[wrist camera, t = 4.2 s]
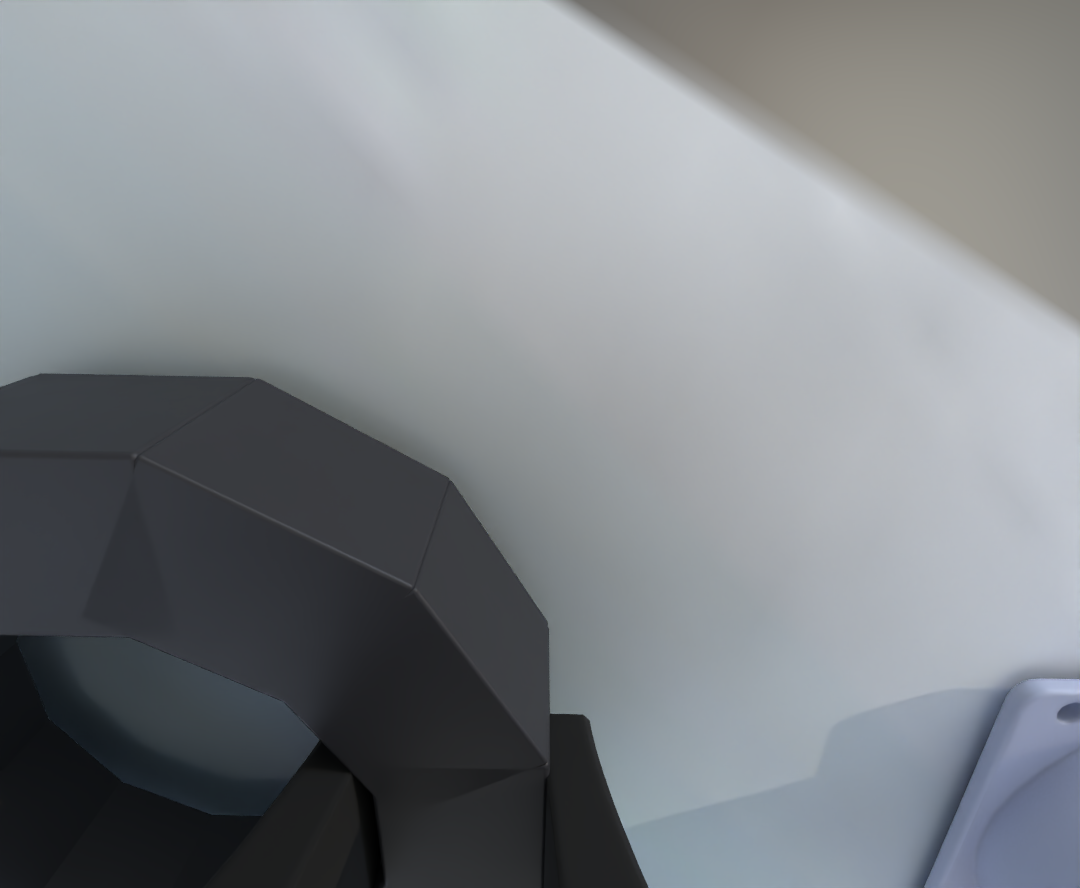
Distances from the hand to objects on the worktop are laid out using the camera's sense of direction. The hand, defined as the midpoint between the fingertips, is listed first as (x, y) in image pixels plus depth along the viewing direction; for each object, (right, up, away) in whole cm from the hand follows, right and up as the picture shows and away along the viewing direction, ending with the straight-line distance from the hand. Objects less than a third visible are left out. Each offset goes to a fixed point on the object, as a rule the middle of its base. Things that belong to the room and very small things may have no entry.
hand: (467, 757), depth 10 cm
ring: (-5, +1, +1) cm, 5 cm away
